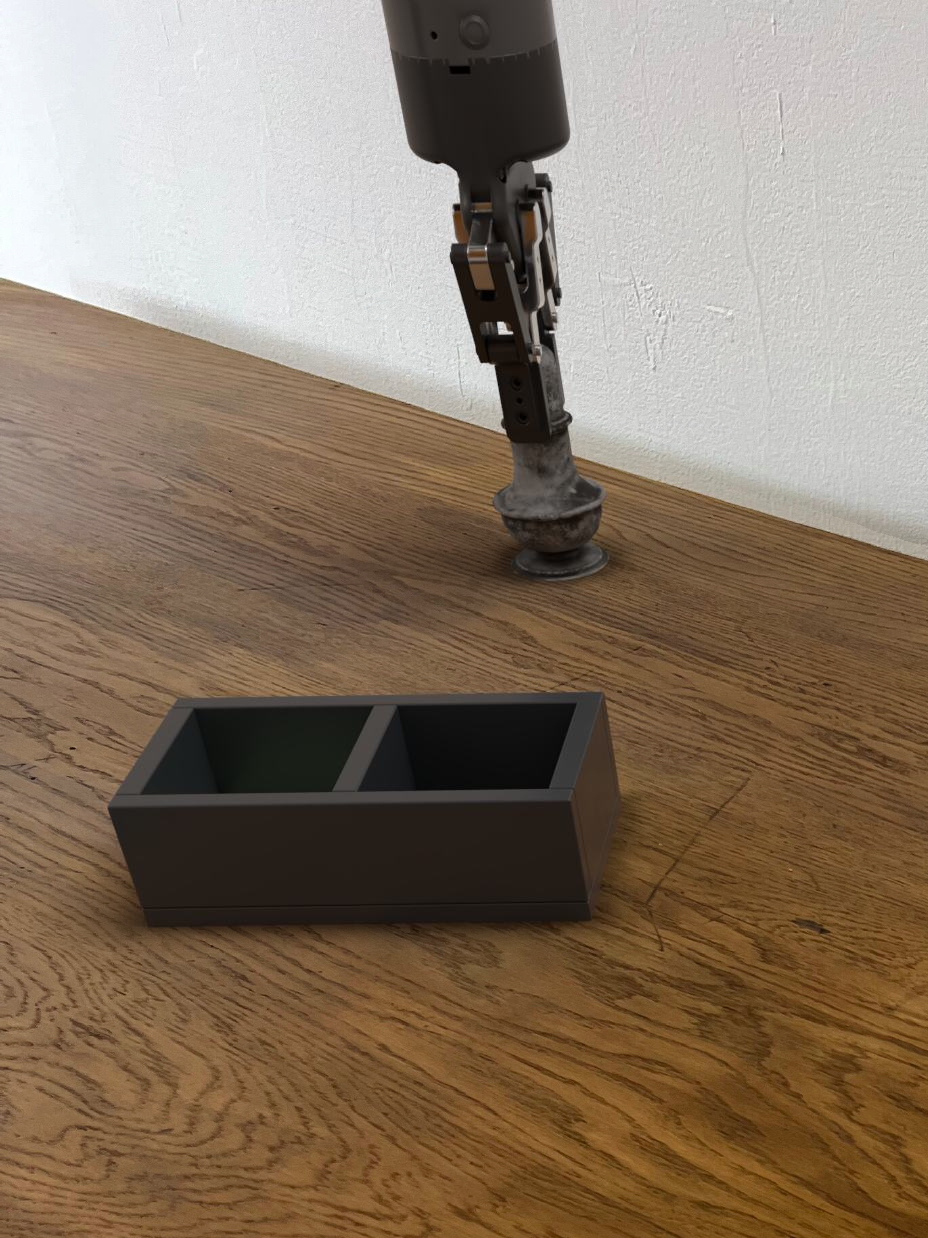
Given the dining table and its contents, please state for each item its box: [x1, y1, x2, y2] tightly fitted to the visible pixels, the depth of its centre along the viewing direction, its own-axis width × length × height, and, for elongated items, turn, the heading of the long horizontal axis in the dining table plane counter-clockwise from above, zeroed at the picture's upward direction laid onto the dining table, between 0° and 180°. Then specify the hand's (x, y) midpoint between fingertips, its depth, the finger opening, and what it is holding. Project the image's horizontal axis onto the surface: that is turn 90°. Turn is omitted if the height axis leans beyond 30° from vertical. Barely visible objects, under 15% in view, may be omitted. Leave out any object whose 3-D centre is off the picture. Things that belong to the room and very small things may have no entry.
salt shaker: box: [491, 343, 610, 582], centre depth 106 cm, size 6×6×12 cm
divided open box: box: [106, 691, 624, 928], centre depth 85 cm, size 10×18×6 cm, turn 90°
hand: (537, 424), depth 105 cm, fingers closed on salt shaker, 3 cm apart
